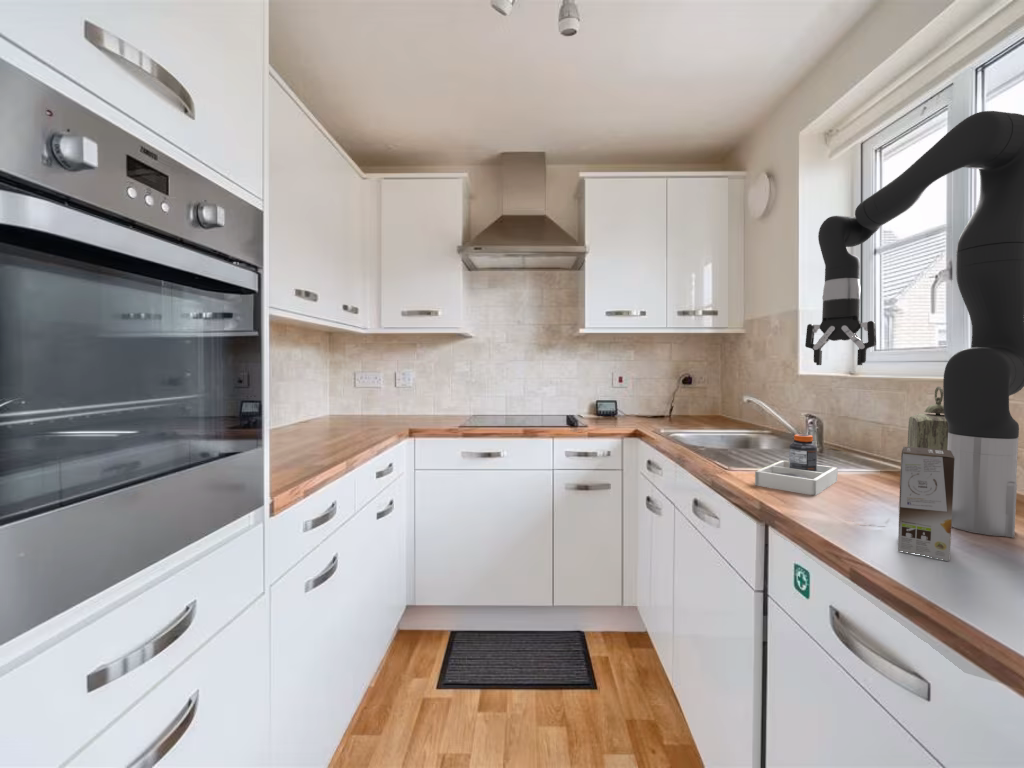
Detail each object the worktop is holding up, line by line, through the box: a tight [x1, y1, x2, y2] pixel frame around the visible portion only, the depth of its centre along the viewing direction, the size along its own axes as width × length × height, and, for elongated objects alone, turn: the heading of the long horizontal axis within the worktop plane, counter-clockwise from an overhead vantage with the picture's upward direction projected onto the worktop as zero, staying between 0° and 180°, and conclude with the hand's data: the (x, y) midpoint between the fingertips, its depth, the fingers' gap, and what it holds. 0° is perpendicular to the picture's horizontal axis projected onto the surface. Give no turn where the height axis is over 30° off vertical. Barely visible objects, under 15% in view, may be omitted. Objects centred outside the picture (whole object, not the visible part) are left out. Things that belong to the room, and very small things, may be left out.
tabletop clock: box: [907, 386, 948, 450], centre depth 123 cm, size 14×9×25 cm, turn 148°
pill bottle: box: [788, 433, 818, 472], centre depth 121 cm, size 6×6×11 cm
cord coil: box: [780, 473, 806, 478], centre depth 114 cm, size 6×6×2 cm
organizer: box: [754, 460, 839, 496], centre depth 117 cm, size 13×20×4 cm, turn 135°
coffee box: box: [897, 446, 955, 561], centre depth 78 cm, size 9×6×16 cm
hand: (838, 365), depth 119 cm, fingers open, 8 cm apart
